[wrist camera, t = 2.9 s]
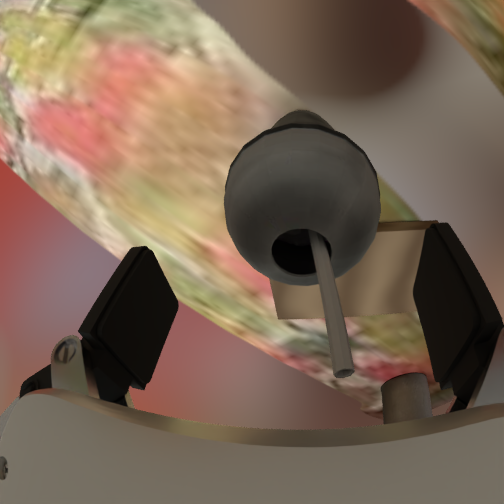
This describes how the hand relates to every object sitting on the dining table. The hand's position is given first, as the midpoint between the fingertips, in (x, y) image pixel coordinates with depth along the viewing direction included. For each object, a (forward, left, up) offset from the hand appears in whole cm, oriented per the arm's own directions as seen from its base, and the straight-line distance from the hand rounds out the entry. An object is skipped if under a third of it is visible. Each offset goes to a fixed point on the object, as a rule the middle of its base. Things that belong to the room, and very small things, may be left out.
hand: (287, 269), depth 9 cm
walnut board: (-4, +15, -16) cm, 23 cm away
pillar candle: (-17, +46, -16) cm, 52 cm away
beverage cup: (0, 0, -16) cm, 16 cm away
